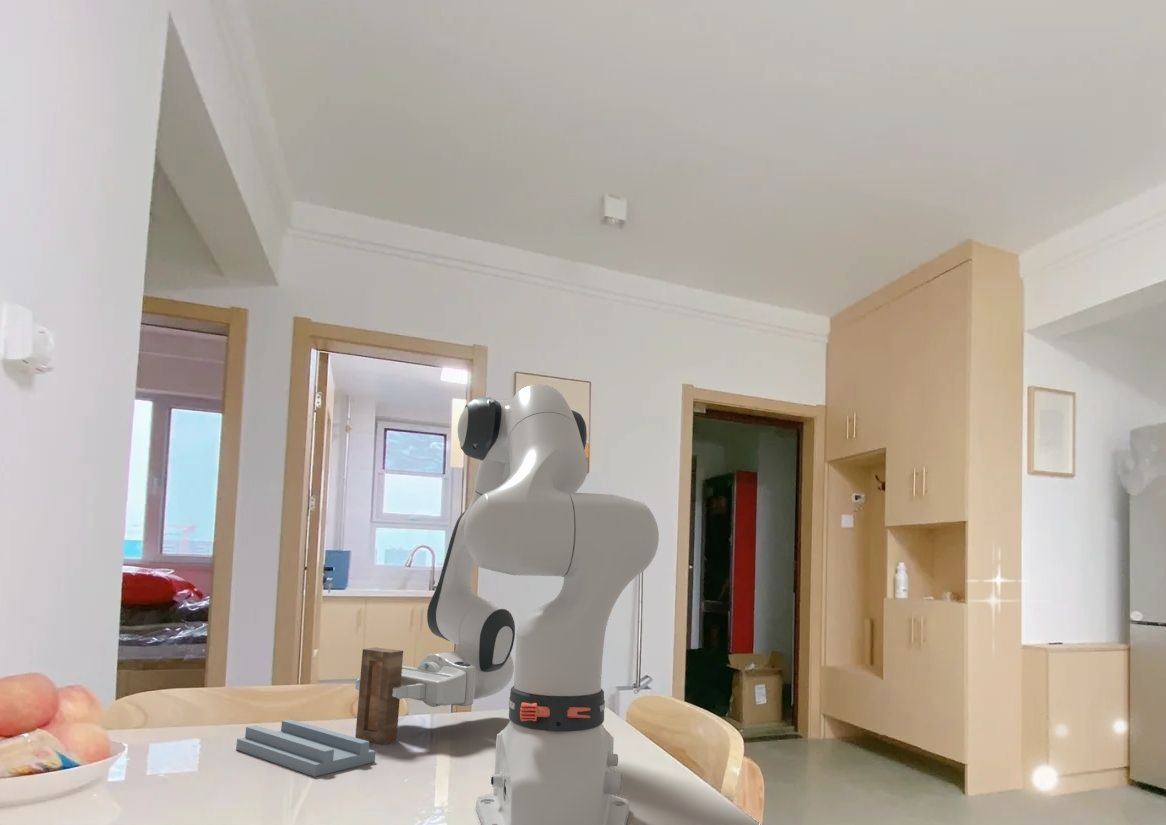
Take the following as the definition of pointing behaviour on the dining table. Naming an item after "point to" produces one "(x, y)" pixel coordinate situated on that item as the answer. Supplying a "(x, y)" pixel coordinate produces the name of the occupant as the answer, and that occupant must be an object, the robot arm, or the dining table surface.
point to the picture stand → (306, 748)
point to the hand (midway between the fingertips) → (376, 688)
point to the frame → (379, 695)
